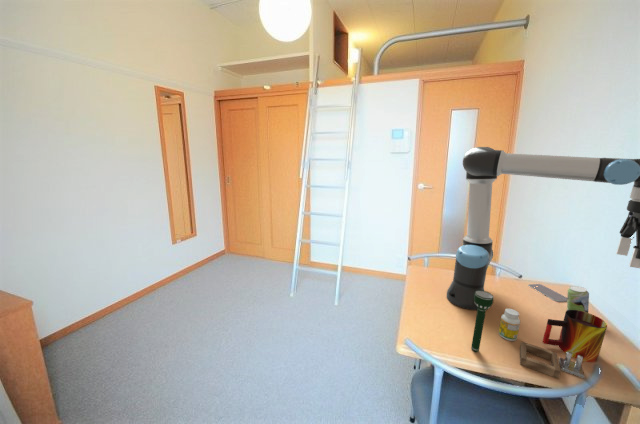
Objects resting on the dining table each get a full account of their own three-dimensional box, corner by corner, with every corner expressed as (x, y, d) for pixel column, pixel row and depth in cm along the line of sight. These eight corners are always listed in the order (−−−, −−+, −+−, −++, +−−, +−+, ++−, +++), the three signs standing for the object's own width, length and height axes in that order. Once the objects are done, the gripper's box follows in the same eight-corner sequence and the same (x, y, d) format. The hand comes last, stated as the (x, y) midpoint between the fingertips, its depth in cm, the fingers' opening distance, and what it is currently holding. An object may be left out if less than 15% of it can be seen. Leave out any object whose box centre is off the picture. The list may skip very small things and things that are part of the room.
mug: (540, 345, 92) (548, 313, 89) (571, 338, 95) (579, 308, 93) (572, 367, 83) (582, 332, 80) (605, 359, 86) (615, 325, 83)
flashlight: (487, 354, 87) (498, 297, 83) (474, 356, 86) (483, 299, 82) (475, 343, 92) (484, 289, 88) (462, 345, 91) (471, 290, 87)
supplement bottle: (518, 343, 93) (523, 318, 90) (500, 339, 95) (504, 314, 92) (514, 333, 98) (519, 309, 95) (496, 329, 99) (501, 306, 97)
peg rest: (561, 370, 81) (564, 356, 80) (559, 360, 85) (562, 346, 84) (584, 378, 79) (588, 363, 77) (580, 367, 83) (584, 353, 81)
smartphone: (540, 283, 134) (571, 299, 119) (540, 285, 134) (571, 301, 119) (526, 284, 133) (556, 300, 118) (526, 286, 133) (556, 302, 118)
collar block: (520, 364, 83) (521, 357, 83) (519, 347, 91) (521, 341, 90) (558, 378, 78) (560, 371, 78) (555, 359, 86) (556, 352, 85)
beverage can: (591, 322, 105) (599, 293, 102) (569, 319, 106) (576, 291, 104) (579, 312, 111) (586, 285, 108) (558, 310, 112) (565, 283, 110)
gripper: (682, 209, 79) (659, 276, 84) (647, 197, 99) (630, 252, 104) (644, 205, 83) (624, 270, 88) (618, 194, 103) (603, 248, 108)
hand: (627, 260), depth 96 cm, fingers open, 13 cm apart
